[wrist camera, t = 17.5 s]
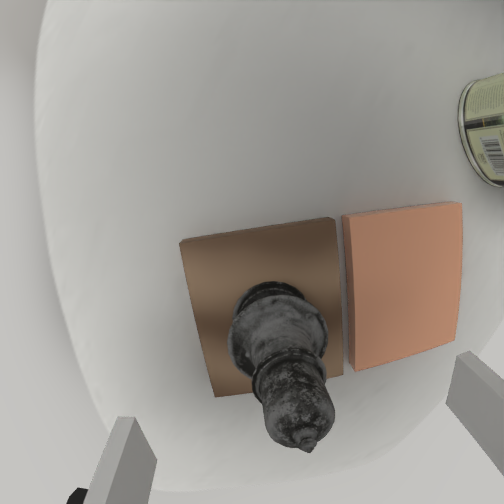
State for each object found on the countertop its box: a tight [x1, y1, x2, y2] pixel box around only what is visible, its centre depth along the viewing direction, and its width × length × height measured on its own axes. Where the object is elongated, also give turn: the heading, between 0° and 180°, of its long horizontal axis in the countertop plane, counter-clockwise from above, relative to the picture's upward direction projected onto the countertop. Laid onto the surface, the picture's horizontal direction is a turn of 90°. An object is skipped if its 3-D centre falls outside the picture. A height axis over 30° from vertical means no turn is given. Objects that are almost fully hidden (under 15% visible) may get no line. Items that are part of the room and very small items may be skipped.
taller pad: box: [342, 201, 463, 372], centre depth 22 cm, size 12×10×2 cm
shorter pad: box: [179, 217, 343, 397], centre depth 22 cm, size 12×10×2 cm
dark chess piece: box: [227, 281, 335, 453], centre depth 15 cm, size 6×6×12 cm
